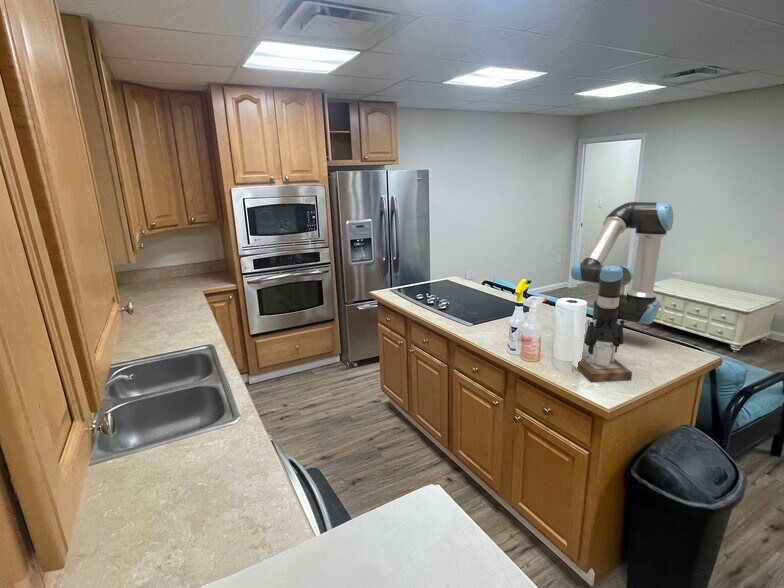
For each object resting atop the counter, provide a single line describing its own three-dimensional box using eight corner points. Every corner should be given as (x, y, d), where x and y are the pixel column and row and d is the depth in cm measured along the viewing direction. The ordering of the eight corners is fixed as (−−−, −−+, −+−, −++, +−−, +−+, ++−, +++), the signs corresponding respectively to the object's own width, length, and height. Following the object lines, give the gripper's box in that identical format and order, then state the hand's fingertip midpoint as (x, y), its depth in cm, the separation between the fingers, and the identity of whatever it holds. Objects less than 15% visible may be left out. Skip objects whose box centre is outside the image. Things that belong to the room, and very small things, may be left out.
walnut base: (608, 362, 178) (609, 353, 177) (631, 380, 163) (632, 370, 162) (571, 364, 177) (572, 355, 176) (590, 382, 162) (591, 372, 161)
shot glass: (594, 357, 174) (596, 342, 172) (612, 362, 169) (614, 346, 168) (589, 363, 169) (591, 347, 167) (608, 368, 164) (610, 351, 162)
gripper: (587, 310, 158) (581, 365, 165) (638, 307, 159) (631, 363, 166) (577, 304, 166) (572, 357, 172) (627, 302, 167) (620, 355, 173)
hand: (601, 360), depth 169 cm, fingers open, 7 cm apart
